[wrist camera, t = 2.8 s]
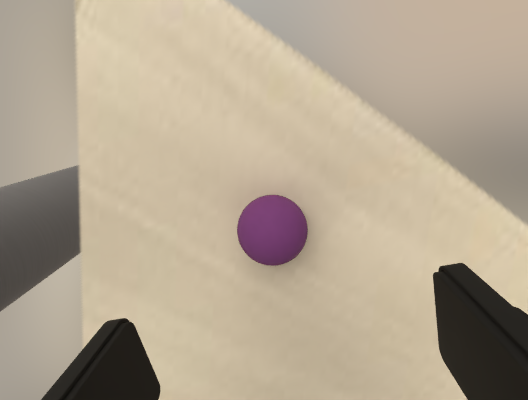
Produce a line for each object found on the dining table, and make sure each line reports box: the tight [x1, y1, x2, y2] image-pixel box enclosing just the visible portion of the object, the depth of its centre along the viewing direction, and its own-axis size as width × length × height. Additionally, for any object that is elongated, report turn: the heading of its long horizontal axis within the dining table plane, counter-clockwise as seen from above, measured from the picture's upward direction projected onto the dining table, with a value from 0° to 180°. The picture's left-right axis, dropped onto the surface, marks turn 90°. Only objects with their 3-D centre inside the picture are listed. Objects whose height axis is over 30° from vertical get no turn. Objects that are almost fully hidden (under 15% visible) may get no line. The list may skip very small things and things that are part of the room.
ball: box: [237, 195, 308, 266], centre depth 17 cm, size 4×4×4 cm
